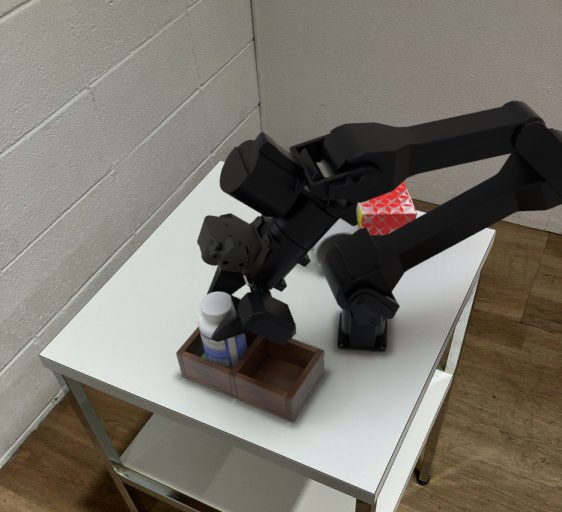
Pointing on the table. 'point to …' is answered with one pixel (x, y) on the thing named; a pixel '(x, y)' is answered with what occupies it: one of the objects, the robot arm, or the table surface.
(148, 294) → the table surface
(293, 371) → the divided box
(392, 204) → the red patterned cube
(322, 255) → the cup
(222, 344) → the pill bottle
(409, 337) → the table surface
